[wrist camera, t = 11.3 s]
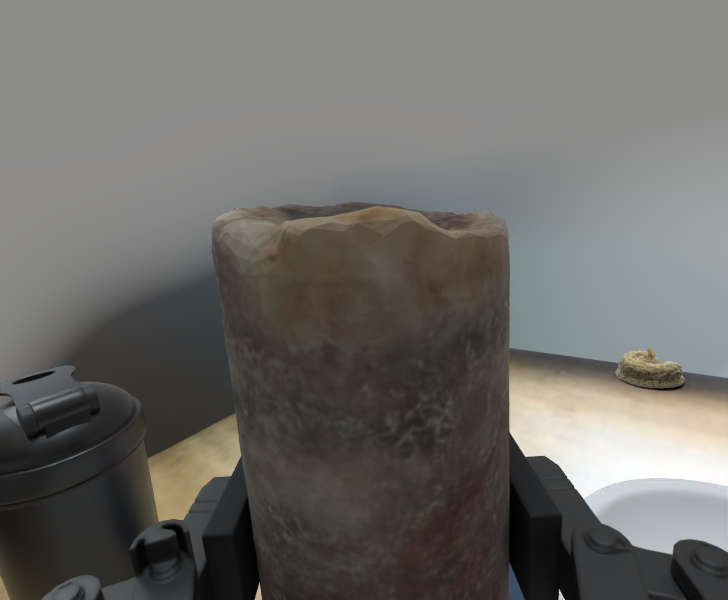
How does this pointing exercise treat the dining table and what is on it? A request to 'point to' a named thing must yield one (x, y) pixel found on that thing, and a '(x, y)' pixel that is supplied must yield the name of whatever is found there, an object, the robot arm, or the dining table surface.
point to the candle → (371, 398)
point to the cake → (648, 370)
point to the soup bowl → (664, 512)
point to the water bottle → (70, 482)
